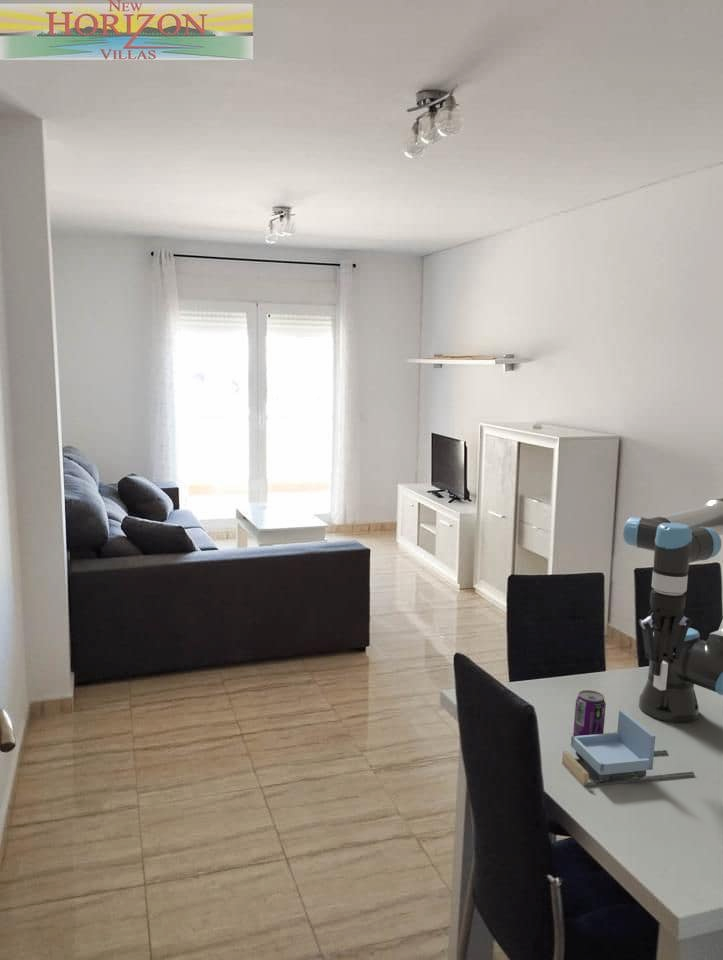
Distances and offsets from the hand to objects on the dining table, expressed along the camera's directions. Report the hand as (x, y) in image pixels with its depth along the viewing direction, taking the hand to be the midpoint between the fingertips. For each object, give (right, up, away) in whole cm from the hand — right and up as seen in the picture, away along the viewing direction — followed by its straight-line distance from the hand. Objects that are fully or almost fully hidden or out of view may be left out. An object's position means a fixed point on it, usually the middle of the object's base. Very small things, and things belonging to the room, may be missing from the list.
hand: (659, 687), depth 177 cm
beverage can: (-14, -16, +11) cm, 24 cm away
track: (-8, -18, -2) cm, 20 cm away
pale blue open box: (-13, -18, -3) cm, 22 cm away
